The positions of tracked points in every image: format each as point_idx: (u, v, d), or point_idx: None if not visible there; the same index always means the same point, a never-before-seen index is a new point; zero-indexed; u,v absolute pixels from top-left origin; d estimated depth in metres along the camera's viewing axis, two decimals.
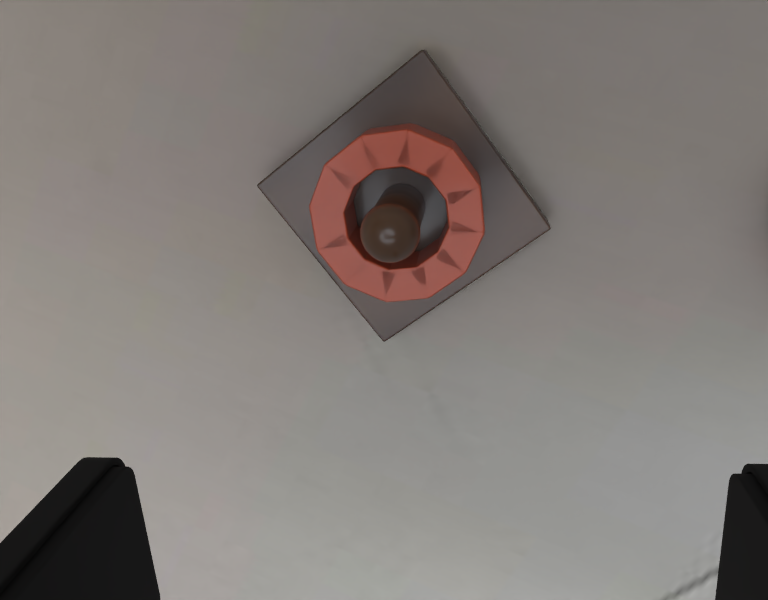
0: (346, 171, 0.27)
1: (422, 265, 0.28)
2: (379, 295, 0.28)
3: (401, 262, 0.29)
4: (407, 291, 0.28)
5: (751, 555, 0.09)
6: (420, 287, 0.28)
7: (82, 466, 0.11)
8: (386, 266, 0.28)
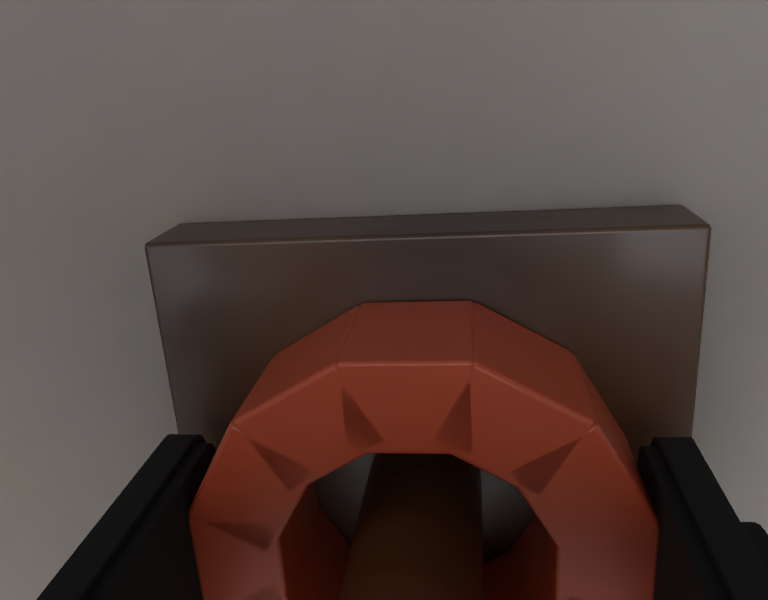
0: (244, 589, 0.11)
1: (561, 594, 0.10)
2: None
3: (526, 596, 0.11)
4: None
5: None
6: None
7: (169, 441, 0.11)
8: None
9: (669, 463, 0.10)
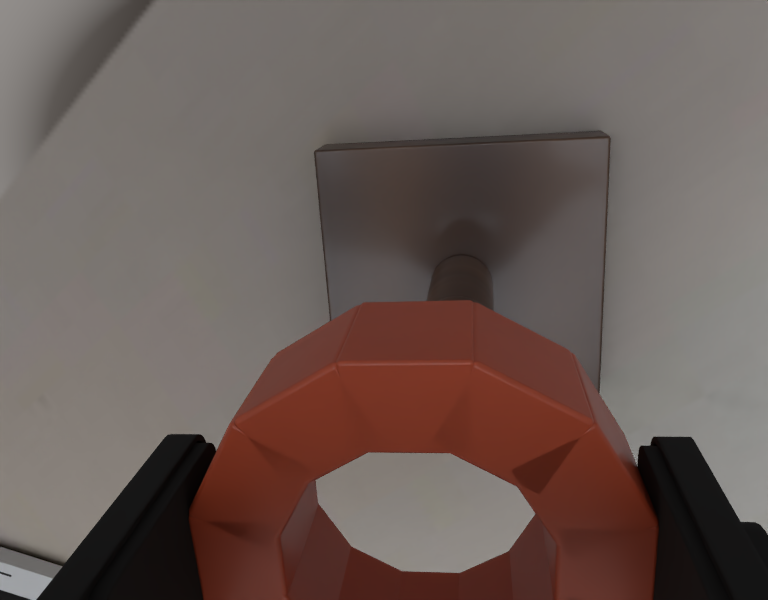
0: (244, 588, 0.11)
1: (561, 594, 0.10)
2: None
3: (526, 595, 0.11)
4: None
5: None
6: None
7: (169, 442, 0.11)
8: None
9: (669, 463, 0.10)
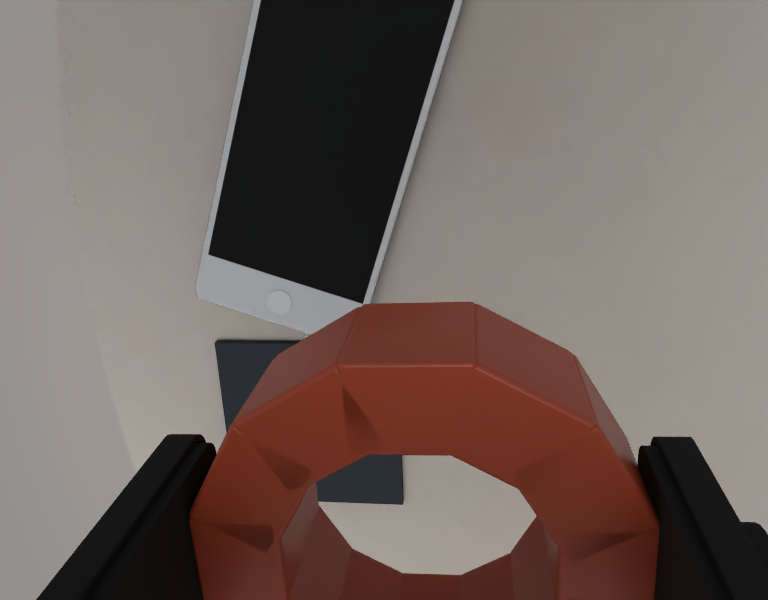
0: (245, 590, 0.11)
1: (562, 595, 0.10)
2: None
3: (528, 598, 0.11)
4: None
5: None
6: None
7: (169, 442, 0.11)
8: None
9: (669, 463, 0.10)
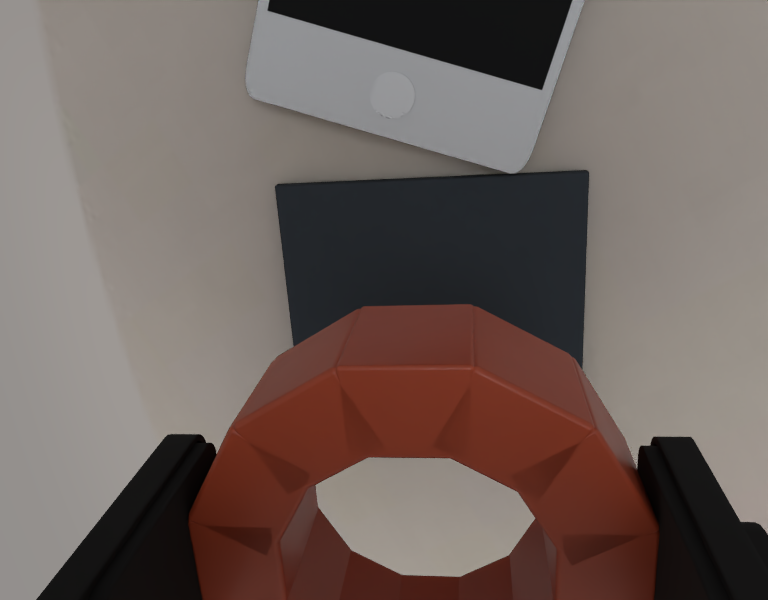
0: (244, 592, 0.11)
1: (561, 598, 0.10)
2: None
3: None
4: None
5: None
6: None
7: (169, 442, 0.11)
8: None
9: (669, 463, 0.10)
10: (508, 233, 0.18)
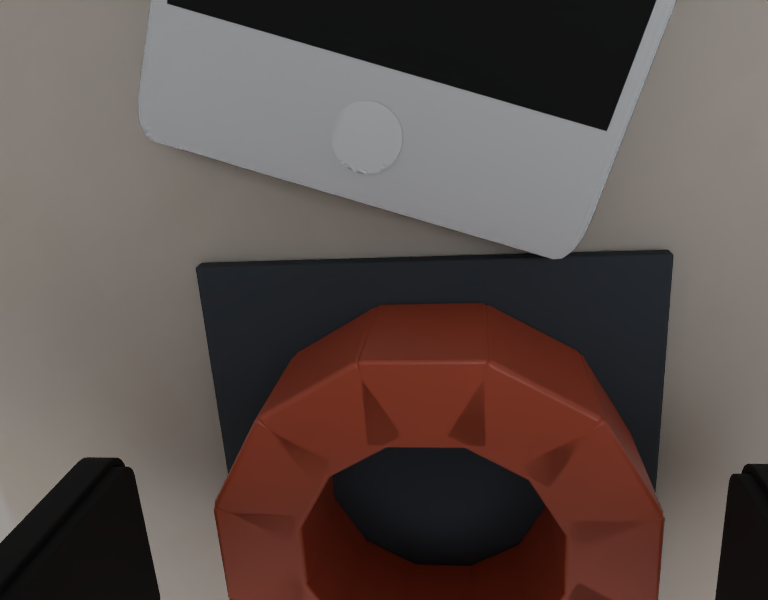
0: (267, 577, 0.11)
1: (569, 582, 0.11)
2: None
3: (536, 585, 0.12)
4: None
5: (751, 555, 0.09)
6: None
7: (82, 466, 0.11)
8: None
9: None
10: None
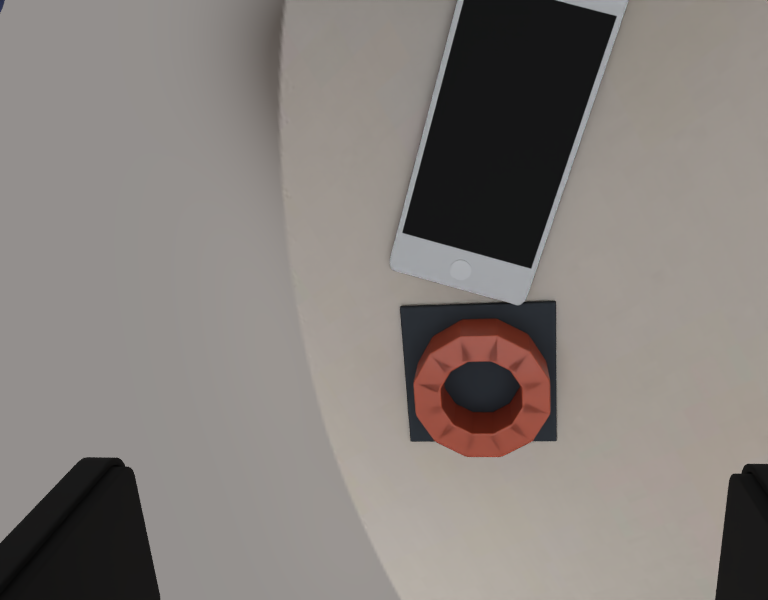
0: (429, 405, 0.36)
1: (523, 403, 0.35)
2: (524, 441, 0.35)
3: (514, 410, 0.36)
4: (535, 423, 0.35)
5: (751, 555, 0.09)
6: (538, 414, 0.35)
7: (82, 466, 0.11)
8: (508, 423, 0.35)
9: None
10: None
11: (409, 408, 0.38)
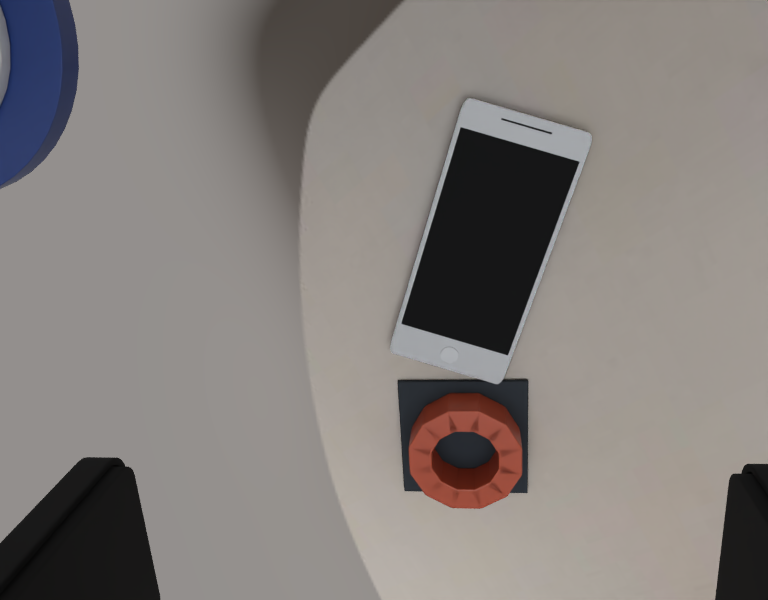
0: (421, 466, 0.42)
1: (500, 465, 0.42)
2: (500, 496, 0.43)
3: (492, 469, 0.43)
4: (509, 482, 0.42)
5: (751, 555, 0.09)
6: (512, 474, 0.42)
7: (82, 466, 0.11)
8: (487, 481, 0.43)
9: None
10: None
11: (404, 464, 0.45)
